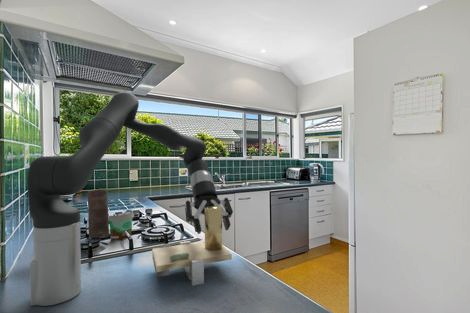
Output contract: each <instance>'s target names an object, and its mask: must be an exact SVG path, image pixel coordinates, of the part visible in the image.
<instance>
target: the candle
mask: <svg viewBox="0 0 470 313" xmlns="http://www.w3.org/2000/svg"><path fill="white" fill-rule="evenodd" d="M108 196H109V194H108V188H98V189H93V190H88V191H87V205H88V206H87V210H88V211H87V213H88V216H87V218H88V221H87V222H88V223H87V224H88V237H89V238H92V237H99V238H98V239H108V238H109V237H110V224H109V221H108V218H109V200H108V198H109V197H108Z"/></svg>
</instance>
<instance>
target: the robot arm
mask: <svg viewBox="0 0 470 313" xmlns="http://www.w3.org/2000/svg"><path fill="white" fill-rule="evenodd" d="M139 108H140V107H139V99H138V97H136V95H135V94H133V93H131V92H128V91H120V92H118V93H115V94H113V96H112V97H111V99H110V100H109V101H108V103H107V104H106V105H105V106H104V107H103V108H102V109H101V110H100V111H99V112H98V113H97V114H96V115H94V117H92V118H90V120H89V121H88V122H87V123H85V125H83V127H82V128H81V130H80V131H79V133H78V140H79V144H80V148H79V149H78V150H77V151H76V152H75V153H73V154H71V155H46V156H39V157H36V158H35V159H34V160H32V162H31V163H30V165H29V167H28V169H27V175H26V176H27V177H26V184H27V186H26V187H27V198H28V210H29V214H30V217H31V219H32V223H33V224H32V225H33V227H32V231H33V235H32V236H33V259H32V260H31V262H30V264H29V267H30V268H29V270H30V272H29V274H30V275H29V276H30V277H29V280H30V281H29V282H30V283H29V284H30V285H29V286H30V287H29V288H30V306H31V307H32V306H40V307H47V306H54V305H59V304H61V303H66V302H67V301H69V300H71V299H73V298H75V297H76V296H78V295H79V294H80V293H81V290H82V276H81V275H82V273H81V272H82V266H81V265H82V264H81V262H82V261H81V260H82V256H81V249H82V248H81V247H82V246H81V245H82V244H81V243H82V242H81V211H80V210H79V208H77V207H75V206H73V205H70V204H68V203H66V202H65V201H64V200H63V199H62V197H61V196H66V195H67V196H68V195H74V194H75V195H76V194H78V193H79V192H81V191H82V190H83V189H84V188H85V187H86V185H87V184H88V182H89V180H90V179H91V177H92V175H93V173H94V172H95V169H96V168H97V167H98V164H99V163H100V161H101V160H102V159H103V157H104V156H105V154H106V153H107V152H108V150H109V149H110V148H111V147H112V145H113V144H114V143H115V142H116V140H117V139H118V138H119V136H120V134H121V131H122V129H123V128H124V127H125V128H127V129H130V130H132V131H134V132H137V133H138V134H139V133H140V134H141V135H145V136H146V137H149V138H151V139H153V140H154V141H157V142H159V143H160V144H161V145H163V146H165V147H167V148H168V149H170V150H172V151H178V150H179V149H180V148H181V147H184V148H185V150H184V153H183V155H182V156H183V157H182V159H183V164H184V166H185V168H187V170H188V174H189V179H190V188H191V192H192V196H193V201H192V202H190V200H186V201H185V205H184V211H185V220H186V222H187V223H189V222H192V223H193V227H194V231H195V232H196V233H197V235H199V234H201V233H202V227H201V221H200V217H201V216H202V215H203V216H205V207H206V206H221V207H222V224H223V226H224V229H225V231H229V229H230V227H231V221H230V219H231V217H232V215H233V213H234V210H233V208H232V205H231V203H230V200H229V198H228V197H224V198H223V199H219V198H218V194H217V190H216V186H215V182H214V179H213V177H212V174H211V171H210V168H209V165H208V163H207V162H206V161H205V160H204V159H203V157H204V156H205V153H206V152H207V151H206V150H207V146H206V143H205V142H204V141H203V140H201V139H199V138H197V137H193V136H190V135H188V134H184V133H181V132H179V131H177V130H176V129H175V128H172V127H171V126H169V125H167V124H163V123H147V122H143V121H140V119H138V118H136V117H137V113H138V109H139ZM193 208H194V209H196V212H195V214H194V215H193V214H192V209H193ZM229 218H230V219H229Z"/></svg>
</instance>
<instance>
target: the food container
mask: <svg viewBox="0 0 470 313" xmlns="http://www.w3.org/2000/svg"><path fill="white" fill-rule="evenodd" d="M134 217H135V214H134V212H133V210H131V209H126V211H125V212H123V213H117V214H116V215H108V221H109V237H110V241H122V240H127V239H128V238H127V236H126V233H125V231H127V232H128V233H129V234H130V235H131V236H132V230H133V218H134Z"/></svg>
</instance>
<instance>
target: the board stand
mask: <svg viewBox="0 0 470 313" xmlns="http://www.w3.org/2000/svg"><path fill="white" fill-rule="evenodd" d="M184 244H191V241H190V240H187V241H180V243H179V245H184ZM204 266H205V264H204V260H203V259H200V260H194V261H191V266H190V267H185V268H183V269H184V271H185V274H186V276H187V278H188V280H189V281H191V286H192V287H195V286H198V285H204V284H205V274H204V273H205V270H204V269H205V267H204Z"/></svg>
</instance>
